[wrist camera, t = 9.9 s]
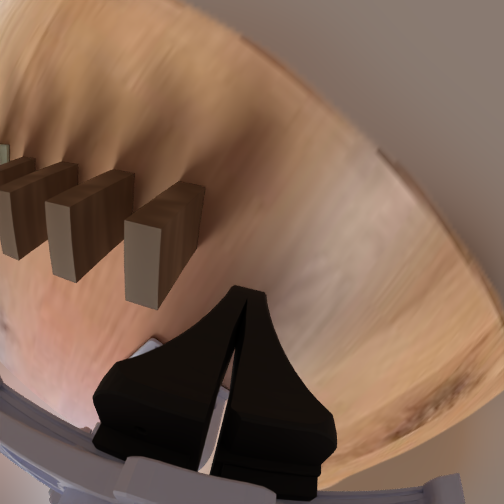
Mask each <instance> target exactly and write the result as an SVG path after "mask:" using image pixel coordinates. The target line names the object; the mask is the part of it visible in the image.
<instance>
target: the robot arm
mask: <svg viewBox="0 0 504 504" xmlns="http://www.w3.org/2000/svg"><path fill="white" fill-rule="evenodd" d="M157 346H158V347H157ZM234 349H235V354H234V361H233V369H232V376H231V384H230V391H228V390H227V389H225V388H224V387H222V386H221V384H222V381H223V379H224V376H225V373H226V371H227V368H228V365H229V363H230V360H231V357H232V355H233V352H234ZM227 399H228V401H227V406H226V410H225V414H224V418H223V422H222V426H221V430H220V434H219V438H218V443H217V447H216V451H215V455H214V459H213V463H212V467H211V470H210V474H209V475H207V474H203V473H199V472H198V471H199V470H200V469H201V468H202V467H203V466H204V465H205V464H206V462H207V461H208V459H209V458H210V456H211V454H212V452H213V449H214V446H215V442H216V438H217V434H218V430H219V426H220V421H221V417H222V413H223V409H224V405H225V401H226V400H227ZM93 403H94V406H95V408H96V411H97V414H98V416H99V419H100V423H99V422H97V424H96V426H95V428H94V430H93V432H92V430H91V429H90V428H88V427H84V428H80V429H79V428H77V427H75V426H73V425H71V424H70V423H67V422H66V421H64V420H62V419H60V418H58V417H57V416H55V415H53V414H51V413H49V412H48V411H46V410H44V409H43V408H41V407H39V406H38V405H36V404H35V403H33V402H31V401H30V400H28V399H27V398H25V397H24V396H22V395H20V394H19V393H17V392H16V391H14V390H13V389H12V388H10V387H9V386H7V385H6V384H5V383H3V380H2V378H1V376H0V452H1V453H2V454H3V455H5V456H6V457H7V458H8V459H10V460H11V461H12V462H14V463H15V464H16V465H17V466H19V467H20V468H21V469H23V470H24V471H26V472H27V473H28V474H30V475H31V476H33V477H34V478H36V479H37V480H39V481H40V482H42V483H43V484H45V485H46V486H48V487H49V488H50V490H49V495H50V498H49V501H50V503H51V504H465V499H464V495H463V489H462V484H461V479H460V474H459V473H456V474H450V475H444V476H439V477H436V478H434V479H432V480H430V481H428V482H427V483H425V484H424V485H423V486H418V487H410V488H401V489H390V490H376V491H346V492H345V491H317V480H318V477H319V476H320V474H321V464H322V463H323V462H324V461H325V460H326V459H327V458H328V457H329V456H330V455H332V454H333V453H334V451H335V450H336V448H337V433H336V428H335V423H334V418H333V415H332V414H331V413H330V412H329V411H328V410H327V409H326V408H325V407H324V406H323V405H322V404H321V403H320V402H319V401H318V400H317V399H316V398H315V397H314V395H313V394H312V393H311V392H310V391H309V390H308V388H307V387H306V386H305V384H304V383H303V382H302V380H301V379H300V377H299V376H298V375H297V373H296V372H295V370H294V368H293V367H292V365H291V363H290V362H289V360H288V358H287V356H286V354H285V353H284V350H283V348H282V346H281V344H280V342H279V339H278V337H277V334H276V332H275V329H274V326H273V323H272V320H271V317H270V313H269V309H268V304H267V297H266V294H265V292H261V291H257V290H253V289H249V288H245V287H241V286H237V285H234V286H232V287H231V289H230V290H229V291H228V293H227V294H226V295H225V297H224V298H223V299H222V300H221V301H220V302H219V303H218V304H217V305H216V306H215V307H214V308H213V309H212V310H211V311H210V312H209V313H208V314H207V315H206V316H205V317H203V318H202V319H201V320H200V321H199V322H197V323H196V324H195V325H194V326H192V327H191V328H190V329H188V330H187V331H185V332H184V333H182V334H181V335H179V336H177V337H176V338H174V339H172V340H171V341H169V342H167V343H165V344H162V343H160V342H159V341H158V340H156V339H154V338H150V339H149V340H148V341H147V342H146V343H145V344H144V345H142V346H141V347H140V348H139V349H138V350H137V351H136V352H135V353H134V354H133V355H132V356H130V357H129V358H128V359H125V360H122V361H118V362H116V363H115V364H114V365H113V367H112V368H111V369H110V370H109V371H108V373H107V374H106V375H105V376H104V378H103V379H102V381H101V382H100V384H99V386H98V388H97V389H96V391H95V393H94V395H93ZM91 432H92V433H91Z"/></svg>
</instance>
